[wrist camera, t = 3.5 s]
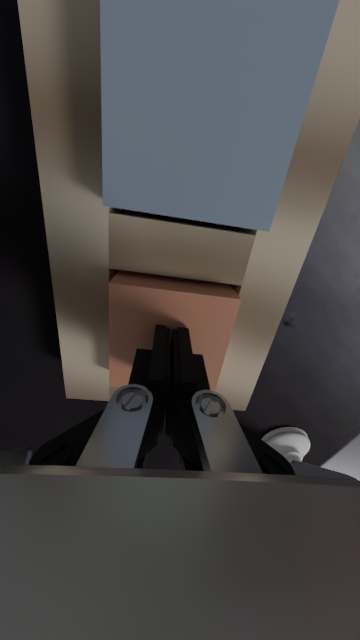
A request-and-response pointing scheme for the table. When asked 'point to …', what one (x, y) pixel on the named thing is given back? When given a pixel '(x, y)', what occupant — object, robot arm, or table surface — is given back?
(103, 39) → the slate button
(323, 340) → the table surface
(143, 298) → the terracotta button
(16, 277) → the table surface
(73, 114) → the button panel
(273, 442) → the chess piece
